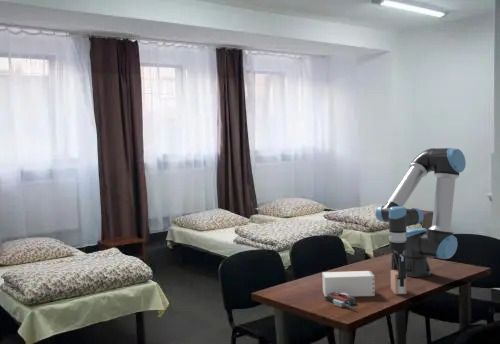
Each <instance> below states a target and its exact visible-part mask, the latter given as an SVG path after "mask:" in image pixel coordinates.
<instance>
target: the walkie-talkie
mask: <svg viewBox="0 0 500 344" xmlns="http://www.w3.org/2000/svg"><path fill="white" fill-rule="evenodd" d="M327 296H328V297H325V296H324V299H325V300H327V301H328V302H331V303H333V305H334V306H336V307H339V308H347V309H351V310H356V311H358V308H357V307H355V306H352V305H355V304H356V297H355V296H354V297H350V295H349V294H346V293H339V292H333V293H329V294H328V295H327Z"/></svg>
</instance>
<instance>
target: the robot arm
mask: <svg viewBox="0 0 500 344" xmlns="http://www.w3.org/2000/svg"><path fill="white" fill-rule="evenodd" d="M466 164H467V163H466V156H465V155H464V153H463V151H462V150H461V149H459V148H453V147H449V148H448V147H446V148H445V147H444V148H443V147H442V148H441V147H440V148H434V147H433V148H431V147H430V148H427V149H426V150H424V151H422V152H420V153H419V154H418V155H417V156H415V157H414V158H413V160H412V161H411V163H409V165H408V171H406V174H405V175H404V177H403V178H402V179H401V181H400V182H399V184H398V185H397V187H396V188H395V190H394V191H393V193H392V195H391V196H390V197H389V199H388V201H387V202H386V203H385V205H380V206H377V207H376V210H375V217H376V219H377V220H378V221H379V222H383V223H388V225H389V226H388V227H389V228H388V231H389V233H388V234H387V236H388V238H389V242H388V243H389V246H388V247H389V249H390V251H391V262H390V263H391V265H390V266H391V267H390V271H391V270H398V276H399V278H397V280H398V293H399V294H398V295H403V294H402V293H405V280H404V279H406V274H407V277H410V278H411V277H412V278H425V277H429V276H431V274H432V269H431V266H430V263H429V259H428V257H432V258H438V259H444V260H447V259H450V258H451V259H452V257H453V256H454V255H455V253H456V252H457V249H458V239H457V237H456V236H454V231H453V229H452V228H451V227H452V226H451V225H452V216H453V207H454V197H455V190H456V189H455V187H456V186H455V185H456V180H457V179H458V178H459V177H460V173H462V172H464V170H465V168H466ZM430 172H431V173H432V172H433V175H434V176H435V177H436V183H435V195H434V203H433V212H432V213H433V214H432V222H431V226H430V227H429V228H428V229H427V228H425V227H421V228H419V227H418V228H409V229H407V227H409V226H416V225H419V224H421V223H422V222H423V221H424V213H423V211H422V210H421V209H420V208H417V207H416V208H415V207H412V208H406V207H405V204H406V203H407V201H408V200H409V198H410V197H411V195H412V194H413V192H414V191H415V189H416V188H417V187H418V185H419V183H420V182H421V180H422V178H426V177H427V175H428V173H430Z"/></svg>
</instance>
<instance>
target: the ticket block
mask: <svg viewBox="0 0 500 344" xmlns="http://www.w3.org/2000/svg"><path fill="white" fill-rule="evenodd" d="M321 275H322V276H321V278H322V279H321V280H322V293H323V295H324V298H325V297H328V296H327V295H328V294H329V293H333V292H339V293H346V294H349V295H350V297H354V298H355V297H374V296H375V295H376V292H375V291H376V289H375V274H373V272H372V271H370V270H357V271H355V270H354V271H326V272H325V271H322V274H321Z"/></svg>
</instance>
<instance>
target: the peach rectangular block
mask: <svg viewBox="0 0 500 344" xmlns="http://www.w3.org/2000/svg"><path fill="white" fill-rule="evenodd" d="M407 277H408V276H407V274H406V279H404V280H405V293H402V294H401V295H408V294H407V293H408V287H407V286H408V285H407V283H408V282H407V281H408V280H407V279H408V278H407ZM397 278H399V276H398V270H391V269H390V290H391V291H392V292H393V293H394V294H395V295H400V294H399V293H398V280H397Z"/></svg>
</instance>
